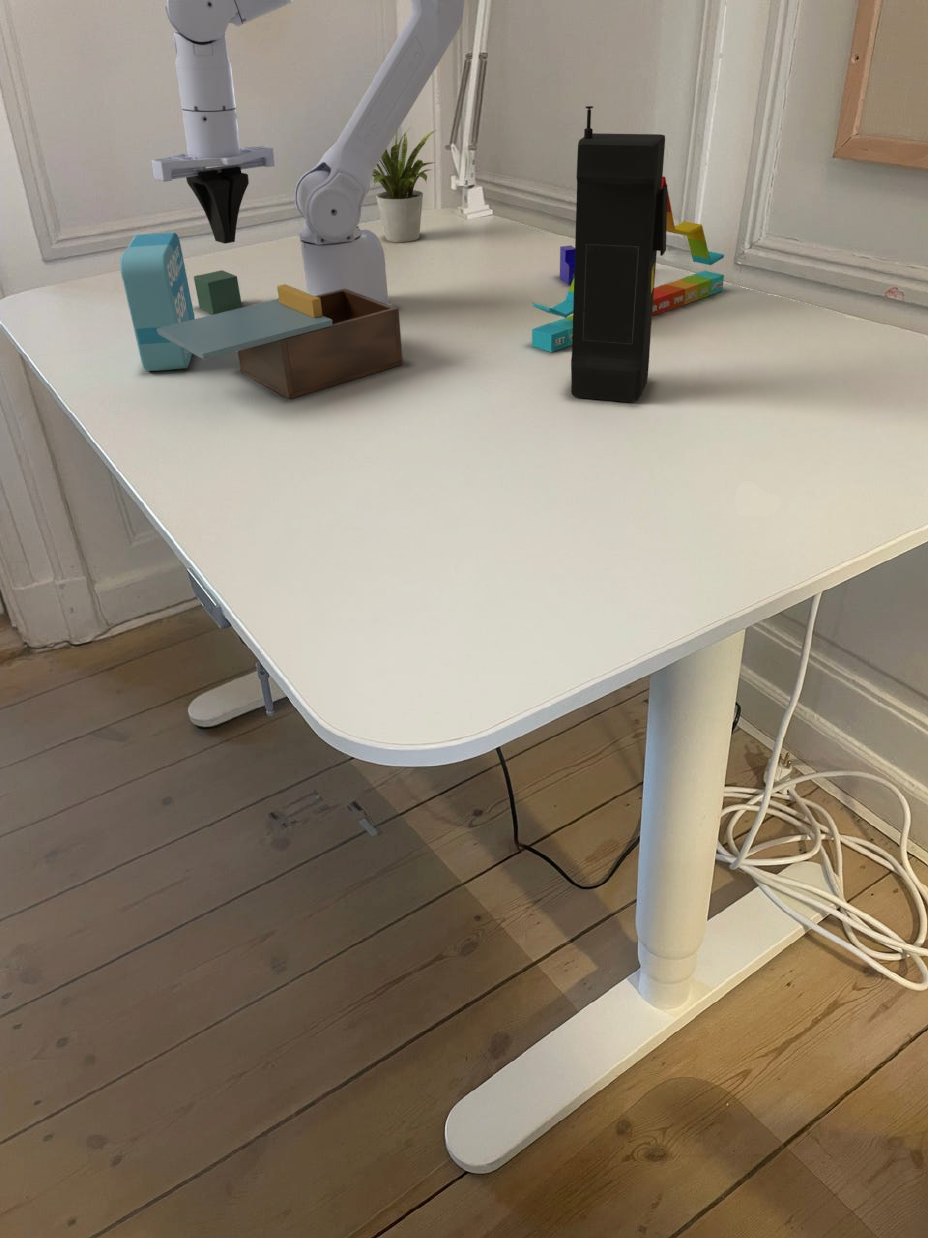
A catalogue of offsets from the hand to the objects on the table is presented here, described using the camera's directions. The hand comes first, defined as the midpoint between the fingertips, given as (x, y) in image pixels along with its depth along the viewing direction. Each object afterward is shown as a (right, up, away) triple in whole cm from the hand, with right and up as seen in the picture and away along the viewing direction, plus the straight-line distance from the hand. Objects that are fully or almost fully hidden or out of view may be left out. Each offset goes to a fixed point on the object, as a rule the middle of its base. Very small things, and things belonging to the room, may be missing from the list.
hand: (225, 241), depth 111 cm
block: (-3, -4, +11) cm, 12 cm away
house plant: (+17, +15, +37) cm, 44 cm away
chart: (+48, -8, +3) cm, 48 cm away
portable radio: (+42, -21, -16) cm, 50 cm away
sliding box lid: (+6, -15, -15) cm, 22 cm away
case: (+12, -17, -8) cm, 22 cm away
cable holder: (+45, +1, +16) cm, 47 cm away
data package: (-5, -14, -3) cm, 15 cm away
